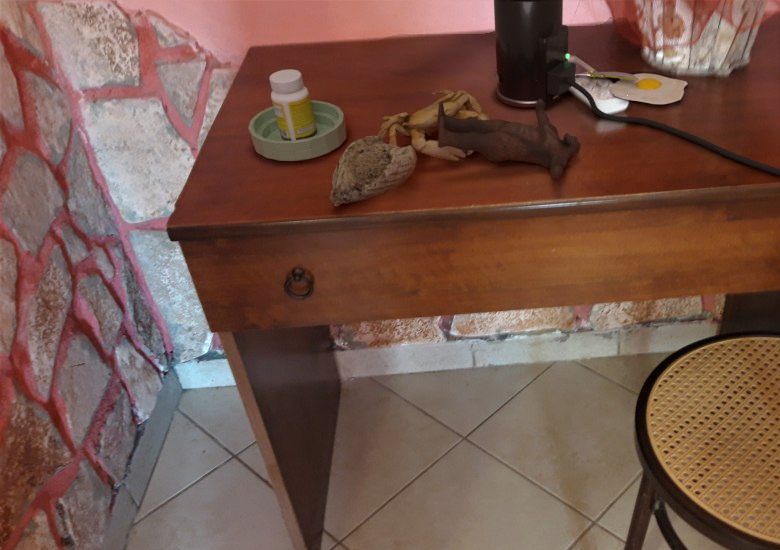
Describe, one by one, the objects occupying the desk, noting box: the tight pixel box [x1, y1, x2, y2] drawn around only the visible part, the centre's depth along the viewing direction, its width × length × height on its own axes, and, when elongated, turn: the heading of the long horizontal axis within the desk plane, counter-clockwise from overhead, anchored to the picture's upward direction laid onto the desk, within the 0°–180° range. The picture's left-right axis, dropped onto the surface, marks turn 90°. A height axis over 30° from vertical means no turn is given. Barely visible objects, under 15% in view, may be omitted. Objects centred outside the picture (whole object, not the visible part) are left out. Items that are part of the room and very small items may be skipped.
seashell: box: [329, 135, 418, 207], centre depth 90 cm, size 11×7×10 cm
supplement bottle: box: [269, 68, 318, 141], centre depth 99 cm, size 5×5×8 cm
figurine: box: [436, 99, 581, 180], centre depth 94 cm, size 18×5×18 cm
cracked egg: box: [609, 73, 688, 105], centre depth 111 cm, size 10×11×1 cm
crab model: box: [376, 89, 491, 162], centre depth 99 cm, size 16×13×6 cm
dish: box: [247, 99, 348, 162], centre depth 101 cm, size 12×12×3 cm
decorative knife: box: [584, 69, 638, 82], centre depth 113 cm, size 12×1×5 cm
